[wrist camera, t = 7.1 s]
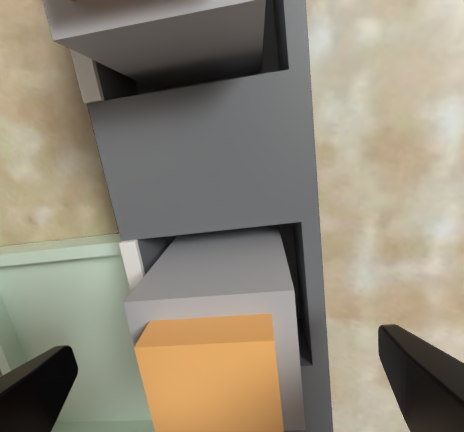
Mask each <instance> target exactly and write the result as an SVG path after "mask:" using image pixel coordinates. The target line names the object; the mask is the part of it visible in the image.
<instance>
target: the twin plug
mask: <svg viewBox="0 0 464 432" xmlns="http://www.w3.org/2000/svg"><path fill="white" fill-rule="evenodd" d="M43 4H44V8H45V11H46V15H47V19H48V23H49V27H50V30H51V34H52V38H53V41H55V42H57V43H59V44H61V45H63V46H65V47H68V48H70V49H72V50H74V51H76V52H78V53H80V54H82V55H84V56H86V57H88V58H90V59H92V60H94V61H96V62H99V63H101V64H103V65H105V66H107V67H109V68H111V69H113V70H115V71H117V72H119V73H121V74H123V75H125V76H127V77H130V78H132V79H134V80H136V81H138V82H140V83H142V84H144V85H146V86H148V87H150V88H152V89H158V88H164V87H170V86H176V85H182V84H188V83H193V82H199V81H205V80H211V79H217V78H223V77H229V76H235V75H240V74H246V73H252V72H258V71H261V65H262V50H263V35H264V20H265V5H266V0H43Z"/></svg>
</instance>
